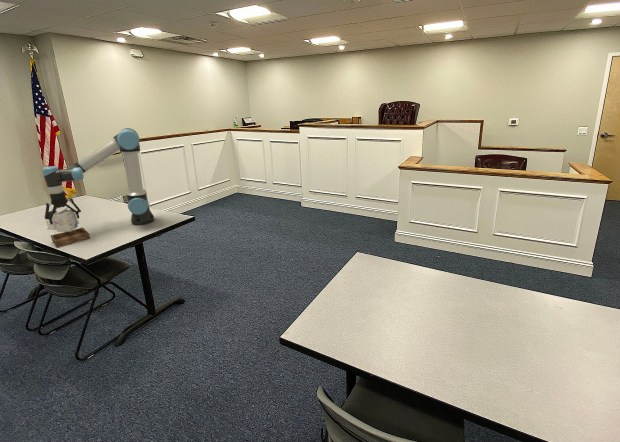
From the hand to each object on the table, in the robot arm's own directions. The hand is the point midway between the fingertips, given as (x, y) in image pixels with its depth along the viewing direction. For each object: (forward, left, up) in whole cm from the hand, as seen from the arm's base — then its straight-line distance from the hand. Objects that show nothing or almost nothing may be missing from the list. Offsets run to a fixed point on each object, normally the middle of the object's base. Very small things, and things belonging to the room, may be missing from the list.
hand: (66, 226), depth 217 cm
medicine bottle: (+2, -37, -10) cm, 38 cm away
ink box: (0, 0, -2) cm, 2 cm away
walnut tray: (0, 0, -9) cm, 9 cm away
